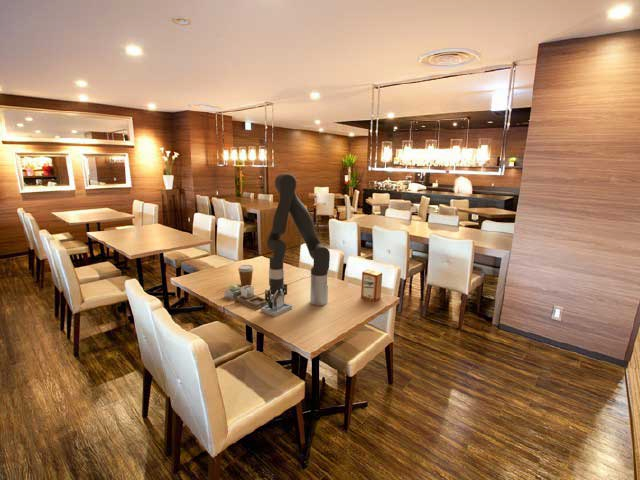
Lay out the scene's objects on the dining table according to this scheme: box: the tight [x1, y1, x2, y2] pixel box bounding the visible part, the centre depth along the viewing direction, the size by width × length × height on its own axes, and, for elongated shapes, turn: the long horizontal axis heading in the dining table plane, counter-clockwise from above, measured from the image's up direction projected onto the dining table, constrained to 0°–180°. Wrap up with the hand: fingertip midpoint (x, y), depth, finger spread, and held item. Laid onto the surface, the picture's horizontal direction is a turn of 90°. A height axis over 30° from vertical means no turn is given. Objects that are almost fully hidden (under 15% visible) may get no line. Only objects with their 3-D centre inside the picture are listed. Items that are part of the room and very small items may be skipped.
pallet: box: [234, 294, 268, 311], centre depth 181 cm, size 10×18×2 cm, turn 53°
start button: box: [230, 284, 238, 291], centre depth 188 cm, size 3×3×4 cm
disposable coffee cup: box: [237, 264, 254, 287], centre depth 207 cm, size 10×10×12 cm
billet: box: [270, 295, 283, 311], centre depth 172 cm, size 5×5×7 cm
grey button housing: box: [224, 286, 241, 302], centre depth 188 cm, size 8×8×4 cm
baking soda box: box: [360, 269, 383, 302], centre depth 191 cm, size 10×6×16 cm
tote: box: [260, 301, 293, 318], centre depth 173 cm, size 13×10×2 cm
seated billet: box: [240, 285, 255, 300], centre depth 183 cm, size 5×5×7 cm
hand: (276, 305), depth 172 cm, fingers open, 7 cm apart
